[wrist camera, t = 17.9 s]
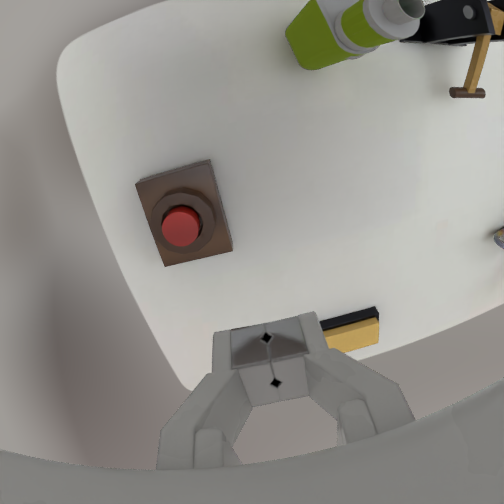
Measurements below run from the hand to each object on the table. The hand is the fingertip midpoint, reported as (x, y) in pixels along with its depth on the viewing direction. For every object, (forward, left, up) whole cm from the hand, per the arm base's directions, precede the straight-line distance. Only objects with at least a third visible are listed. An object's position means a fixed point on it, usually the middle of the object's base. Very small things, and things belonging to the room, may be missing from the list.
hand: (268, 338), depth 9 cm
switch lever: (-10, +26, -19) cm, 34 cm away
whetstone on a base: (+26, +7, -26) cm, 37 cm away
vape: (-12, +10, -27) cm, 31 cm away
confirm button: (+4, -7, -23) cm, 24 cm away
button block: (+4, -7, -26) cm, 27 cm away
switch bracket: (-13, +26, -26) cm, 39 cm away
